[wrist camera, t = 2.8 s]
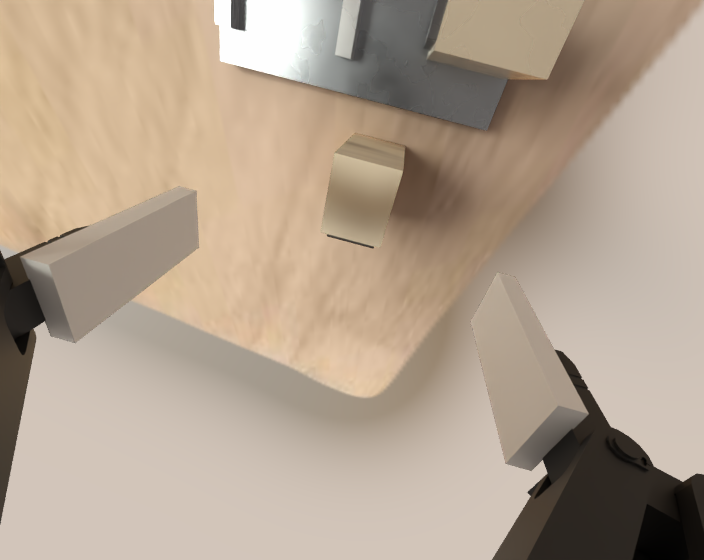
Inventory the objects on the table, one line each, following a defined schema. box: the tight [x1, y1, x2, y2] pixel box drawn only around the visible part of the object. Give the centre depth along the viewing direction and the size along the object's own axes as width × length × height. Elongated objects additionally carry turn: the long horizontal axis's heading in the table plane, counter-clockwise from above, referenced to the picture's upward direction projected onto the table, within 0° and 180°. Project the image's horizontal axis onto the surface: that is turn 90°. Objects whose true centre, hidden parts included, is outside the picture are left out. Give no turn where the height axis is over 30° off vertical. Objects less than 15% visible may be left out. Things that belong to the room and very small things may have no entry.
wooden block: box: [320, 133, 405, 248], centre depth 23 cm, size 5×4×8 cm
